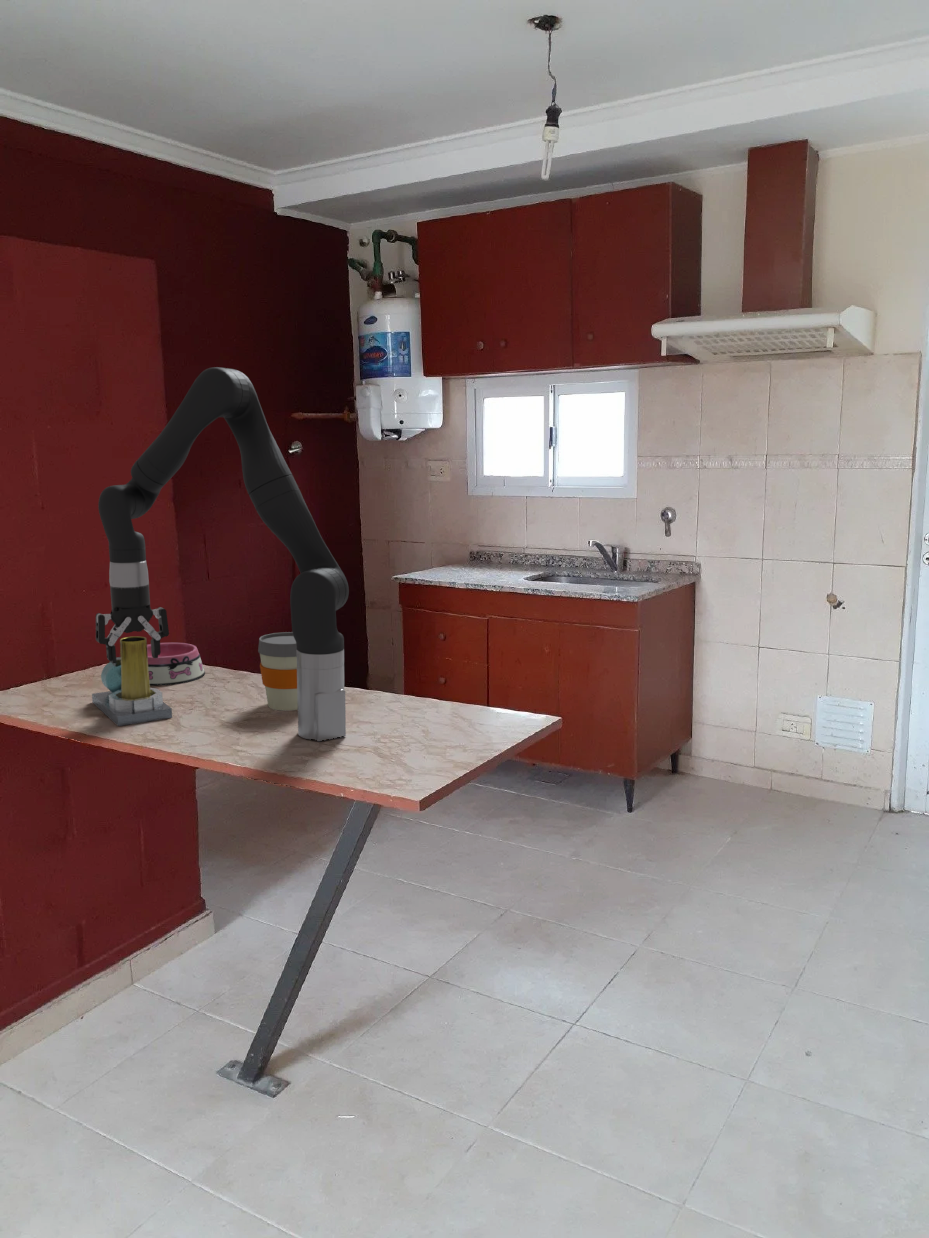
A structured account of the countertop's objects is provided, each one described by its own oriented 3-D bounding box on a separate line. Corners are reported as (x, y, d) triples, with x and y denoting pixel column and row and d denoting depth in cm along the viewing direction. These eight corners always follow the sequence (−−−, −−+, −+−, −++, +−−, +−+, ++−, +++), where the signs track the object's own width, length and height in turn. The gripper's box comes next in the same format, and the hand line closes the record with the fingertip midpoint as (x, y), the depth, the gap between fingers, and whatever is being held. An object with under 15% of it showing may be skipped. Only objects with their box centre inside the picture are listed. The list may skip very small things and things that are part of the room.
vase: (158, 703, 203) (154, 637, 200) (137, 711, 198) (133, 643, 195) (136, 699, 205) (132, 634, 203) (114, 707, 200) (110, 640, 197)
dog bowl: (146, 690, 221) (145, 662, 219) (112, 675, 234) (110, 647, 233) (218, 677, 233) (217, 650, 232) (182, 663, 246) (181, 637, 245)
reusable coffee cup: (323, 698, 216) (322, 632, 213) (309, 714, 204) (308, 645, 201) (269, 695, 217) (267, 631, 214) (251, 711, 205) (249, 643, 202)
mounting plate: (172, 717, 200) (169, 670, 198) (118, 726, 194) (115, 677, 192) (143, 695, 216) (140, 651, 214) (92, 702, 210) (89, 657, 208)
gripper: (98, 588, 189) (103, 668, 193) (170, 582, 197) (174, 659, 200) (88, 583, 195) (94, 661, 199) (158, 577, 203) (162, 652, 207)
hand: (134, 660), depth 200 cm, fingers open, 8 cm apart
